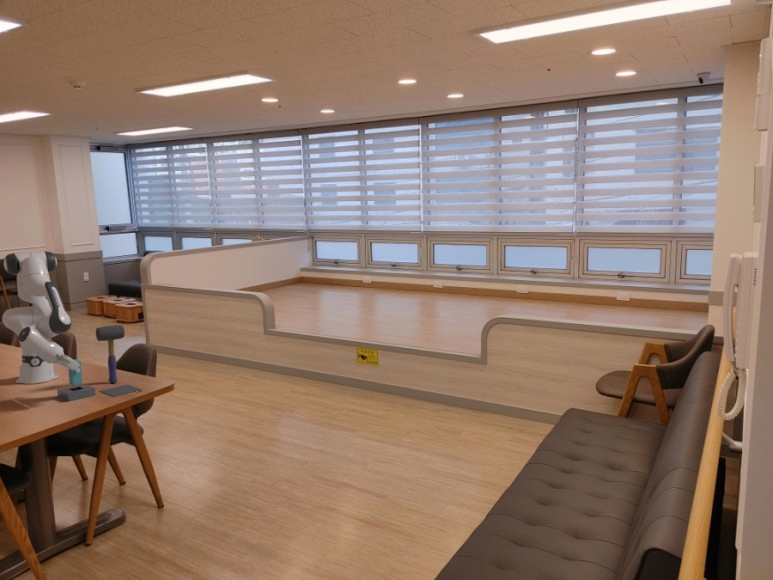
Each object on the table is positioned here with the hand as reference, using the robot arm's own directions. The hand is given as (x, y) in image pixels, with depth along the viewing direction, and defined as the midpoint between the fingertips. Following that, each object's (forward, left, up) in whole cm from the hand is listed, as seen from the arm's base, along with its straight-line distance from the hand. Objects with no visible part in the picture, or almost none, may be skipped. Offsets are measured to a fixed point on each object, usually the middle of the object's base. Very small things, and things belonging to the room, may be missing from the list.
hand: (76, 370), depth 271 cm
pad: (+1, +18, -13) cm, 22 cm away
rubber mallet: (-17, +16, -13) cm, 27 cm away
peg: (0, -1, -6) cm, 6 cm away
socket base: (0, -1, -13) cm, 13 cm away
